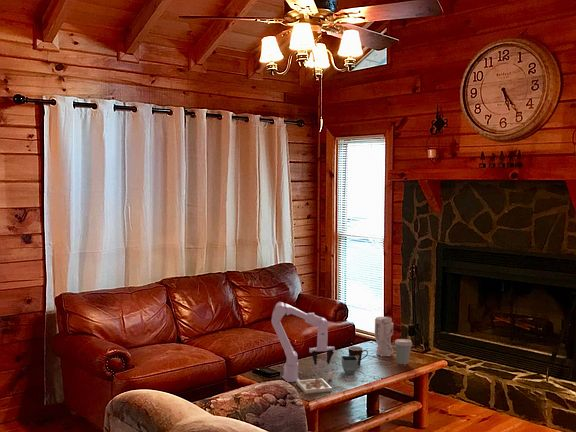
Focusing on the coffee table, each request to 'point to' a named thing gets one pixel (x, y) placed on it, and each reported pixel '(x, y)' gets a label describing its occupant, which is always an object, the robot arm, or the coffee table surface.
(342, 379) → the coffee table surface
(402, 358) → the disposable coffee cup
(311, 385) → the collar
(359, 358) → the coffee mug
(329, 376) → the peg
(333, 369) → the coffee table surface
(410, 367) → the coffee table surface
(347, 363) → the flower pot
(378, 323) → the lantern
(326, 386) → the tray
